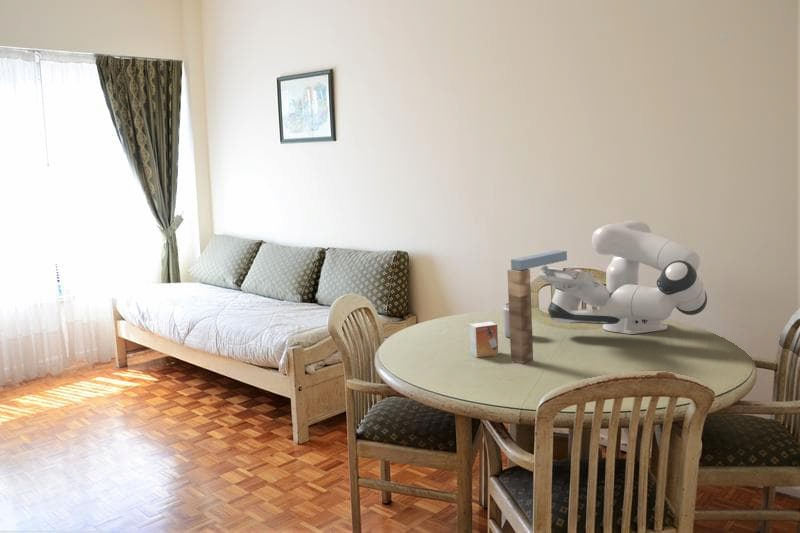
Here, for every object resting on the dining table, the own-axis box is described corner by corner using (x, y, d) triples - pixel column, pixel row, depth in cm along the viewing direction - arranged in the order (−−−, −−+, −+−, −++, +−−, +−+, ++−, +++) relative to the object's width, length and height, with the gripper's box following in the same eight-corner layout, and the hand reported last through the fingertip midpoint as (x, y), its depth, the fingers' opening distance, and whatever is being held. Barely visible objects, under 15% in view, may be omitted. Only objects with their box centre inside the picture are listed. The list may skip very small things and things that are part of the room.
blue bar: (557, 259, 243) (557, 250, 242) (566, 260, 240) (566, 251, 239) (511, 269, 230) (510, 259, 230) (520, 270, 227) (520, 260, 226)
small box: (476, 358, 241) (475, 327, 239) (470, 353, 246) (468, 323, 244) (498, 354, 243) (497, 324, 241) (492, 350, 248) (491, 320, 246)
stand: (521, 357, 238) (518, 267, 233) (533, 360, 234) (530, 269, 229) (511, 361, 235) (507, 270, 230) (522, 364, 231) (518, 271, 226)
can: (524, 332, 268) (522, 301, 266) (525, 338, 260) (524, 305, 258) (503, 333, 268) (502, 302, 266) (504, 339, 261) (503, 306, 259)
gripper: (599, 295, 239) (575, 281, 230) (551, 288, 255) (527, 274, 247) (605, 277, 239) (581, 262, 231) (557, 271, 256) (533, 257, 247)
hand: (553, 268), depth 239 cm, fingers open, 8 cm apart
